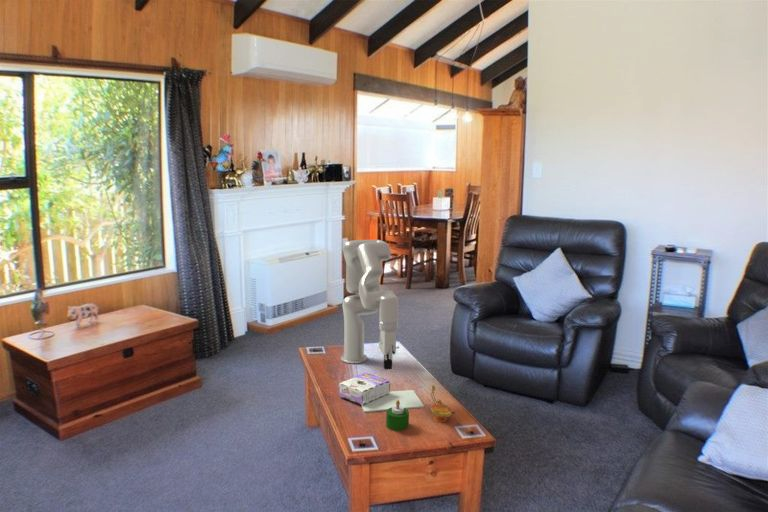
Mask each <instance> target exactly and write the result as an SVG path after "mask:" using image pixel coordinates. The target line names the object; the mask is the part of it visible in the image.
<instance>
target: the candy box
mask: <svg viewBox="0 0 768 512" xmlns="http://www.w3.org/2000/svg"><path fill="white" fill-rule="evenodd" d="M390 389H391V381H390V380H388V379H384V378H382V377H379V376H376V375H375V374H371V373H368V372H365V373H362V374H360V375H357V376H354V377H351V378H349V379H346V380H343V381H341V382H339V383H338V396H339V397H341V398H344V399H346V400H348V401H351V402H354V403H356V404H358V405H360V406H361V405H364V404H366V403H369V402H371V401H373V400H376V399H378V398H380V397H383V396H385V395H388V394H390V392H391V391H390Z"/></svg>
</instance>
